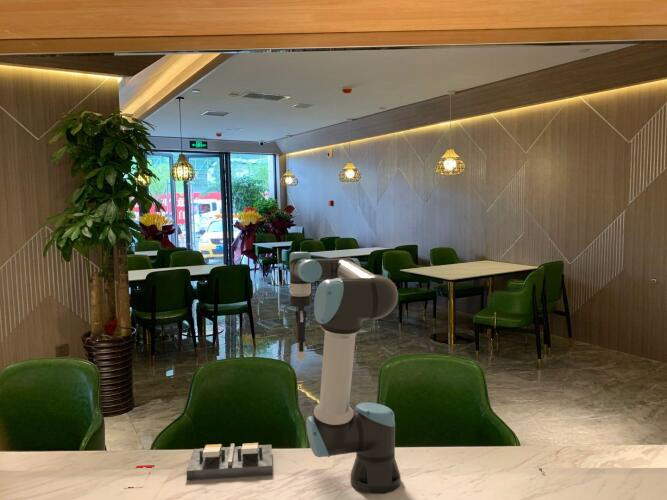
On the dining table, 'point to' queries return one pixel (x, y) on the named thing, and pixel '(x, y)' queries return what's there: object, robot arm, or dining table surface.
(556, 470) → the dining table surface
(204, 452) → the breaker left
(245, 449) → the breaker right
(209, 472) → the breaker box
